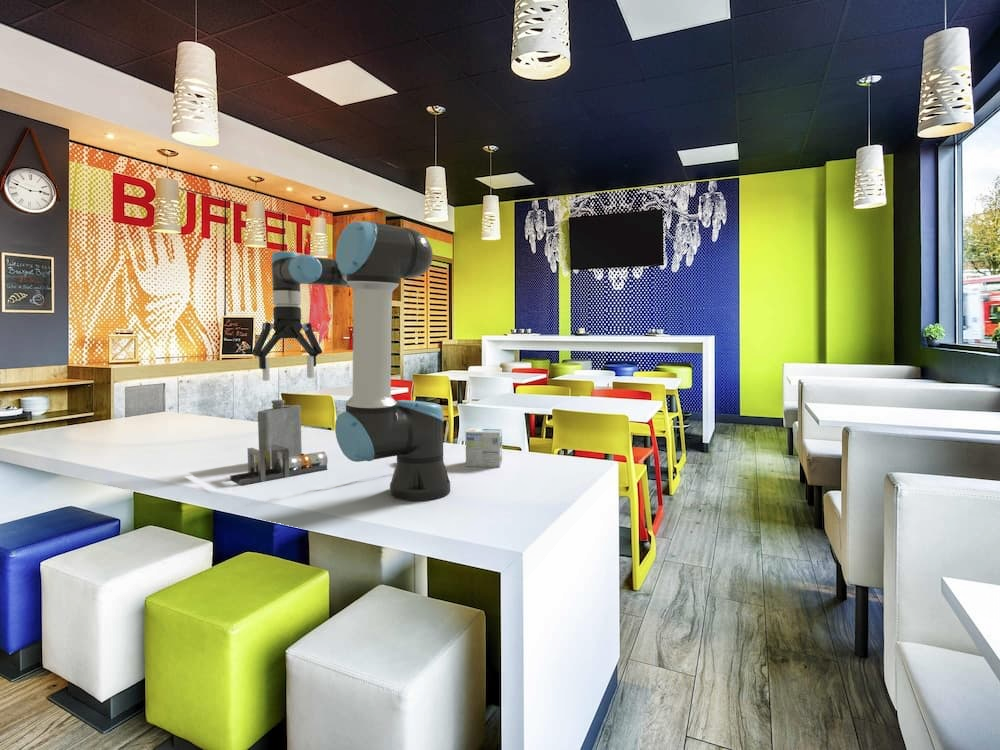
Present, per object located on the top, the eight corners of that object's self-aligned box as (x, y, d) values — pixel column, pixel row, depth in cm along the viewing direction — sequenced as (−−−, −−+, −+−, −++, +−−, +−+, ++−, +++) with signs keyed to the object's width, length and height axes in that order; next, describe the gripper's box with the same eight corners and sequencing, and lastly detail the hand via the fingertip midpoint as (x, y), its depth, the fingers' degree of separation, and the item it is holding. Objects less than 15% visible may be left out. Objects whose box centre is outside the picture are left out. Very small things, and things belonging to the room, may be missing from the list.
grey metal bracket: (276, 471, 158) (275, 444, 158) (289, 476, 152) (288, 448, 152) (248, 476, 153) (247, 448, 152) (260, 482, 147) (260, 453, 146)
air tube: (320, 465, 166) (319, 449, 165) (327, 467, 163) (327, 451, 162) (277, 473, 156) (276, 456, 156) (284, 475, 153) (283, 458, 153)
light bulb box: (502, 462, 174) (502, 428, 174) (500, 467, 168) (500, 432, 167) (468, 461, 175) (468, 427, 175) (465, 466, 169) (465, 431, 168)
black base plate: (314, 467, 166) (313, 460, 166) (328, 472, 160) (328, 465, 160) (229, 483, 149) (229, 475, 149) (241, 489, 143) (241, 481, 143)
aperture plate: (269, 475, 158) (268, 450, 157) (270, 475, 157) (269, 451, 157) (255, 477, 155) (254, 452, 154) (256, 478, 154) (255, 453, 154)
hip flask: (265, 473, 160) (263, 403, 158) (254, 471, 161) (252, 402, 160) (304, 461, 175) (302, 397, 173) (293, 460, 176) (292, 396, 175)
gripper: (320, 308, 175) (321, 376, 176) (237, 305, 157) (240, 380, 158) (332, 307, 170) (334, 377, 171) (249, 304, 152) (251, 382, 153)
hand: (289, 379), depth 165 cm, fingers open, 13 cm apart
